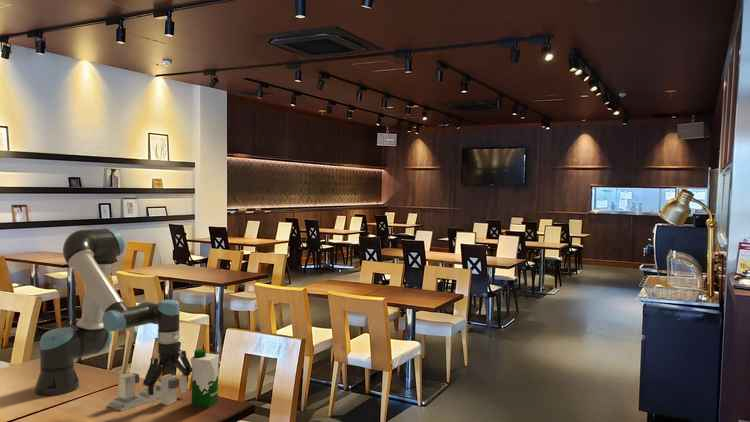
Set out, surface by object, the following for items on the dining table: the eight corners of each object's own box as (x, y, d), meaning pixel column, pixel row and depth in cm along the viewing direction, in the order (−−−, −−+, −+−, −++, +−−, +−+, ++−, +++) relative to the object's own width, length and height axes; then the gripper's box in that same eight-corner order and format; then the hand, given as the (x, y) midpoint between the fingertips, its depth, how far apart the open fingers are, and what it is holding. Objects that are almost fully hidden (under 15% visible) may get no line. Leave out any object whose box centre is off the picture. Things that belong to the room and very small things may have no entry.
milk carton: (199, 398, 214) (200, 347, 213) (221, 400, 212) (221, 348, 211) (187, 407, 205) (188, 353, 205) (210, 409, 203) (210, 355, 203)
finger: (160, 403, 209) (160, 376, 208) (169, 399, 212) (169, 374, 212) (170, 406, 205) (171, 379, 205) (179, 403, 209) (180, 377, 208)
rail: (107, 406, 205) (107, 376, 204) (159, 389, 223) (159, 362, 223) (120, 411, 200) (120, 381, 200) (172, 393, 219) (172, 365, 218)
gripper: (145, 350, 196) (145, 410, 197) (202, 336, 217) (202, 389, 218) (132, 347, 200) (132, 405, 201) (189, 333, 221) (189, 386, 222)
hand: (168, 397), depth 209 cm, fingers open, 13 cm apart
